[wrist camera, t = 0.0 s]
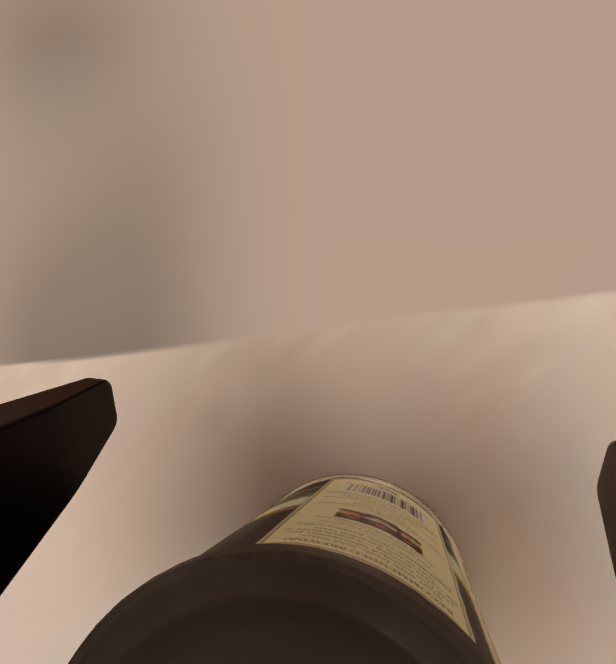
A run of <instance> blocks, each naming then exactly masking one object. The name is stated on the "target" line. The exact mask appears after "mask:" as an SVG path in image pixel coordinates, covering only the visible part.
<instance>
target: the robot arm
mask: <svg viewBox="0 0 616 664" xmlns="http://www.w3.org/2000/svg"><path fill="white" fill-rule="evenodd" d="M116 422H117V413H116V408H115V402H114V397H113V391H112V387H111V384H110V383H109V382H108V381H107V380H103V379H95V378H86V379H82V380H79V381H76V382H72V383H69V384H66V385H62V386H59V387H56V388H52V389H49V390H46V391H43V392H39V393H36V394H33V395H29V396H26V397H23V398H19V399H16V400H13V401H9V402H6V403H3V404H0V596H1V594H2V593H3V592H4V590H5V589H6V587H7V586H8V585H9V583H10V582H11V581H12V579H13V578H14V577H15V575H16V574H17V573H18V571H19V570H20V568H21V567H22V566H23V564H24V563H25V562H26V560H27V559H28V558H29V556H30V555H31V553H32V552H33V551H34V549H35V548H36V547H37V545H38V544H39V543H40V541H41V540H42V538H43V537H44V536H45V534H46V533H47V532H48V530H49V529H50V528H51V526H52V525H53V524H54V522H55V521H56V519H57V518H58V517H59V515H60V514H61V513H62V511H63V510H64V509H65V507H66V506H67V504H68V503H69V502H70V500H71V499H72V497H73V496H74V495H75V493H76V492H77V490H78V489H79V487H80V485H81V484H82V482H83V481H84V479H85V477H86V476H87V474H88V472H89V471H90V469H91V467H92V465H93V464H94V462H95V460H96V459H97V457H98V455H99V454H100V452H101V450H102V449H103V447H104V445H105V444H106V442H107V440H108V438H109V437H110V435H111V433H112V432H113V430H114V428H115V425H116ZM597 494H598V500H599V504H600V509H601V513H602V518H603V522H604V527H605V532H606V536H607V541H608V545H609V550H610V554H611V559H612V563H613V568H614V572H615V576H616V441H613V442H611V443H610V444H609V446H608V448H607V451H606V454H605V458H604V462H603V465H602V469H601V472H600V476H599V479H598V485H597Z"/></svg>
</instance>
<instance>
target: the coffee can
mask: <svg viewBox="0 0 616 664" xmlns="http://www.w3.org/2000/svg"><path fill="white" fill-rule="evenodd" d="M68 664H501V663H500V660H499V657H498V655H497V653H496V650H495V647H494V645H493V642H492V640H491V637H490V635H489V632H488V630H487V627H486V625H485V622H484V619H483V616H482V614H481V611H480V609H479V606H478V604H477V602H476V599H475V597H474V594H473V592H472V589H471V587H470V584H469V581H468V577H467V574H466V571H465V568H464V564H463V560H462V558H461V555H460V553H459V551H458V549H457V546H456V544H455V542H454V540H453V539H452V537H451V535H450V534H449V532H448V531H447V529H446V528H445V526H444V525H443V524H442V523H441V521H440V520H439V519H438V518H437V517H436V515H435V514H434V513H433V512H432V511H431V510H430V509H429V508H428V507H427V506H425V505H424V504H423V503H422V501H420V500H419V499H417V498H415V497H414V496H413V495H411V494H410V493H408V492H406V491H404V490H403V489H401V488H399V487H397V486H395V485H393V484H390V483H388V482H385V481H382V480H379V479H375V478H371V477H366V476H359V475H334V476H329V477H325V478H320V479H317V480H314V481H311V482H309V483H306V484H304V485H302V486H300V487H298V488H297V489H295V490H293V491H292V492H290V493H289V494H287V495H286V496H285V497H283V498H282V499H281V500H280V501H279V502H278V503H277V504H276V505H274V506H273V507H271V508H270V509H268V510H267V511H265V512H264V513H262V514H261V515H259V516H258V517H257V518H255V519H254V520H252V521H251V522H249V523H248V524H246V525H245V526H243V527H242V528H240V529H239V530H237V531H235V532H234V533H232V534H231V535H229V536H228V537H226V538H225V539H224V540H222V541H221V542H219V543H218V544H216V545H215V546H213V547H212V548H210V549H209V550H207V551H206V552H204V553H203V554H201V555H200V556H197V557H194V558H192V559H189V560H187V561H185V562H182V563H180V564H178V565H176V566H174V567H172V568H170V569H168V570H166V571H165V572H163V573H161V574H159V575H157V576H155V577H153V578H152V579H150V580H149V581H147V582H146V583H144V584H143V585H142V586H140V587H139V588H137V589H136V590H134V591H133V592H132V593H130V594H129V595H128V596H126V597H125V598H124V599H122V600H121V601H120V602H119V603H118V604H117V605H116V606H115V607H114V608H113V609H112V610H111V611H110V612H109V613H108V614H107V615H106V616H105V617H104V618H103V619H102V620H101V621H100V622H99V623H98V624H97V625H96V626H95V627H94V629H93V630H92V631H91V633H90V634H89V635H88V636H87V638H86V639H85V640H84V641H83V643H82V644H81V645H80V647H79V648H78V650H77V651H76V652H75V654H74V655H73V657H72V658H71V660H70V661H69V663H68Z"/></svg>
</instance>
